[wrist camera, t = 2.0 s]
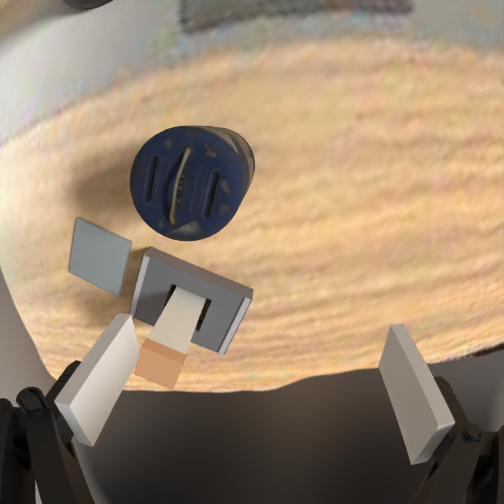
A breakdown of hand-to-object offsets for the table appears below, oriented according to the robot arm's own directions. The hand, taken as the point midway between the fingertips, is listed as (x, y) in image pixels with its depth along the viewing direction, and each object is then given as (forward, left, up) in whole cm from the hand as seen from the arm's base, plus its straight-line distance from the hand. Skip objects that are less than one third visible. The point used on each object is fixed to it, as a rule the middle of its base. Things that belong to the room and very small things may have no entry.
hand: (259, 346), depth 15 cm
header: (-5, -17, -27) cm, 33 cm away
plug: (-5, -17, -27) cm, 33 cm away
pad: (-21, -17, -27) cm, 39 cm away
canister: (-8, +3, -28) cm, 29 cm away
